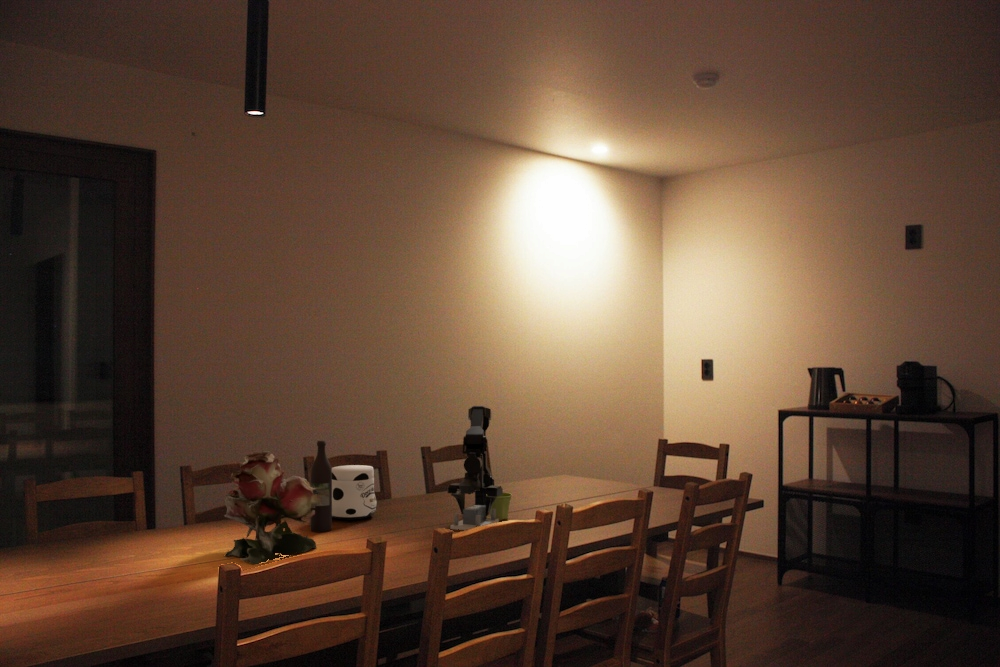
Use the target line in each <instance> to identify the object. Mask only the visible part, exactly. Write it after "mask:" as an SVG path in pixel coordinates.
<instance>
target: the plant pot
mask: <svg viewBox="0 0 1000 667" xmlns="http://www.w3.org/2000/svg"><path fill="white" fill-rule="evenodd" d="M486 496H487V494H486ZM512 497H513V494H512V493H510V492H504V491H503V494H501V495H499V496H498V497H496V499H495V500H494V502H493V505H492V507H491V509H496V519H499V521H503V520H508V517H509V510H510V503H511V500H512ZM489 514H490V515H489V516H490V517H489V518H491V510H490V512H489Z"/></svg>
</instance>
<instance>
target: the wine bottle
mask: <svg viewBox="0 0 1000 667" xmlns="http://www.w3.org/2000/svg"><path fill="white" fill-rule="evenodd" d="M326 445H327V442H326V440H324V439H322V440H317V441H316V446H317V452H316V456H315V459H314V461H313V463H312V466H311V468H310V469H311V470H310V487H313V488H315V489H316V490H313V491H312V492H313V494H317V495H318V496H319V497H320V498H321V501H320V502H319V503H317V504H316V506H315V508H311V509H310V510H309V511H313V510H315V515H313V516H312V517H311V518H309V520H310V522H309V523H311V524H309V525H310V526H309V528H310V529H309V530H310V532H313V531H314V532H313V533H325V532H326V531H327V532H329V531H332V528H333V524H332V523H333V517H332V465H331V463H330V461H329V459H328V457H327V453H326ZM327 532H326V533H327Z"/></svg>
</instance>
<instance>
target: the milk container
mask: <svg viewBox="0 0 1000 667" xmlns="http://www.w3.org/2000/svg"><path fill="white" fill-rule="evenodd" d="M331 469H332V519H333V518H334V519H338V520H346V521H347V520H349V521H350V520H353V521H355V520H361V519H368V518H370V517H372V516H374V514H375V513H376V510H377V504H378V503H377V498H376V493H375V477H374V476H375V471H374V467H373V466H372V465H361V464H355V465H354V464H350V465H349V464H347V465H338V466H334V467H331Z"/></svg>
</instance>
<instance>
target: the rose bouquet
mask: <svg viewBox="0 0 1000 667" xmlns="http://www.w3.org/2000/svg"><path fill="white" fill-rule="evenodd" d="M271 452H272V451H269V450H263V451H252V452H251V453H250V454H249V453H248V454H246V455H245V457H244V460H245V461H244V462H239V468H240V470H235V471H233V472H232V473H231V476H230V480H231V479H233V480H234V481H233V480H232V481H231V483H232V484H233V489H232V490H230V491H229V492H228V494H225V496H226V497H225V498H224V502H225V507H226V514H224V515H223V516H224V517H225V518H228V519H231V520H233V521H236V522H238V523H240V524H242V525H245V526H247V527H248V531H247V532H246V538H245V537H242V538H238V539H234V540H233V543H234V545H233V547H232V549H230V550H231V551H229V550H228V551H227V552H225V554H224V555H225V556H224V557H230V556H235V557H237V558H239V559H240V560H241V561H243V562H247V563H249V564H251V565H253V566H256V565H260V564H259V563H261V562H266V561H267V560H268V559H269V560H273V559H275V558H279V557H283V556H281V555H280V556H279V554H278V555H275V553H281V554H282V555H289V556H290V555H291V556H293V555H296V554H302V553H306V552H309V551H310V550H311V549H315V548H316V549H317V544H316V543H317V542H316V541H315V540H314V539H313V538H311V537H309V536H308V535H305V536H303V535H302V534H301V533H297V532H295V531H294V532H293V531H292V530H291V528H290V527H289V524H288V522H287V520H284V521H283V522H282V519H284V518H285V519H286V518H288V519H292V520H294V521H295V522H299V523H301V524H305V523H307V524H309V525H310V524H311V523H310V522H308V521H305V520H303V518H304V517H305V518H307V519H310V518H311V517H312V516H313V515H315V510H313V511H310V509H311V508H315V506H316V504H317V503H319V502H320V501H321V498H320V497H319V496H318V495H317V494H313V492H312V491H313V490H316V489H315V488H313V487H311V483H310V482H309V481H308V480H307V478H303V477H301V476H299V475H298V476H297V475H292V476H290V477H288V478H287V479H286V478H284V474H285V469H282V468H281V465H280V463H278V461H277V459H275V455H274V454H272V453H271ZM274 524H275V527H273V528H272V529H271V530H270V531H266V527H268V526H272V525H274ZM252 531H255V538H254V539H251V538H248V537H249V536H250V535H251V533H252ZM289 556H286V557H287V558H290V557H291V556H290V557H289ZM286 557H284V559H287V558H286ZM280 559H281V560H283V558H280ZM268 563H270V561H268V562H267V563H262V564H261V565H264V564H268Z"/></svg>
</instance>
